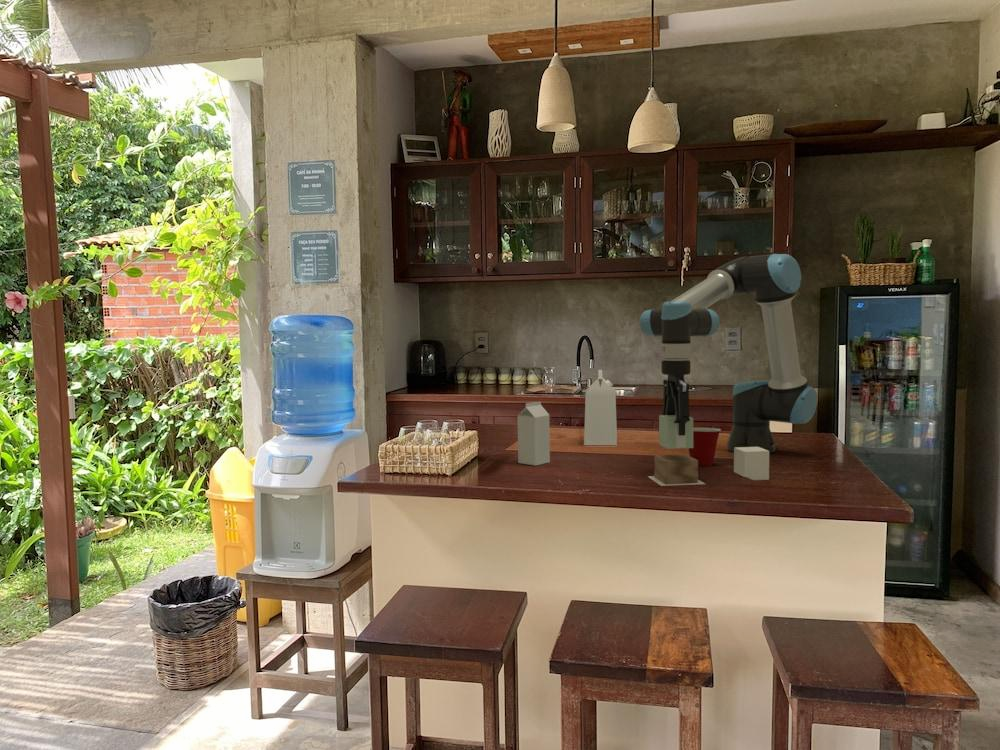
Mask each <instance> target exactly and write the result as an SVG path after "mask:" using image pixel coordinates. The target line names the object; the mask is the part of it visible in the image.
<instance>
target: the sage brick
mask: <svg viewBox="0 0 1000 750" xmlns="http://www.w3.org/2000/svg"><path fill="white" fill-rule="evenodd" d="M675 420H676V414H675V415H663V414H661V415H658V429H659V430H658V445H659V446H661V447H663V448H664V449H667V450H671V449H673V450H675V449H679V450H680V448H675V423H674V421H675ZM693 428H694V417H692V416H690V421H687V423H686V448H685V449H689V448H693Z"/></svg>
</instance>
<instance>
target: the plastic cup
mask: <svg viewBox="0 0 1000 750" xmlns="http://www.w3.org/2000/svg"><path fill="white" fill-rule="evenodd" d="M721 431H722V429H721V428H717V427H693V448H688V452H689V454H688V455H689V456H690V457H692V458H694V459H696V460H698V467H711V466H714V464H713V463H714V458H715V454H716V450H717V443H718V440H719V437H720V433H721Z"/></svg>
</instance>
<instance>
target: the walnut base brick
mask: <svg viewBox="0 0 1000 750" xmlns="http://www.w3.org/2000/svg"><path fill="white" fill-rule="evenodd" d="M653 458H654V460H653V461H654V463H653V464H654V465H653V470H654V471H653V472H654V473H653V476H654V477H655V478H656V479H658V480H659V481H661V482H662V483H664V484H684V483H698V480H699V466H698V460H696V459H694V458H692V457H690V455H689V454H669V455H668V454H667V455H666V454H663V455H661V454H660V455H659V454H658V455H657V454H656V455H654V457H653Z"/></svg>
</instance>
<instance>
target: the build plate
mask: <svg viewBox="0 0 1000 750" xmlns="http://www.w3.org/2000/svg"><path fill="white" fill-rule="evenodd" d="M647 478H649V479H650V480H652V481H653V482H655V483H656V484H657V485H659V486H661V487H667V486H668V487H669V486H671V487H673V486H688V485H690V486H691V485H706V483H705V482H703V481H701V480H700V479H698V483H684V484H664V483H662V482H661V481H659V480H658V479H656V478H655V477H654V475H650V476H647Z"/></svg>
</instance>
